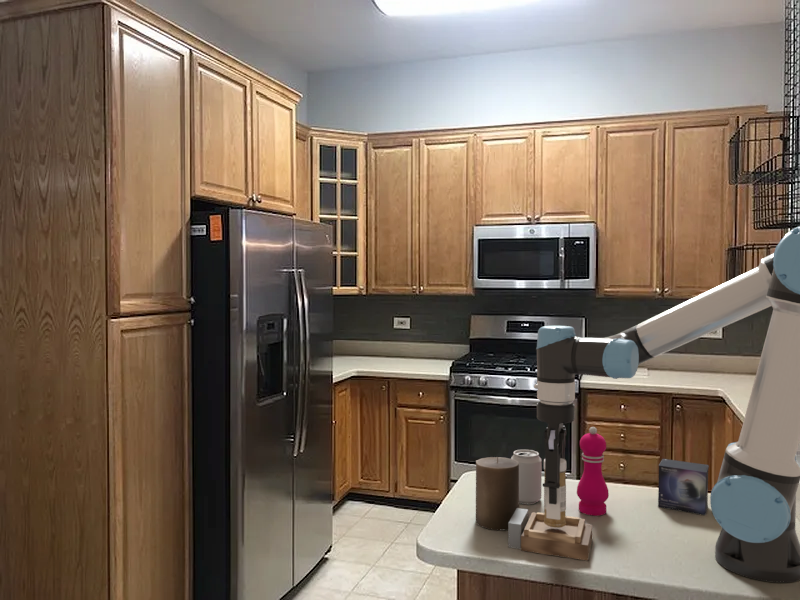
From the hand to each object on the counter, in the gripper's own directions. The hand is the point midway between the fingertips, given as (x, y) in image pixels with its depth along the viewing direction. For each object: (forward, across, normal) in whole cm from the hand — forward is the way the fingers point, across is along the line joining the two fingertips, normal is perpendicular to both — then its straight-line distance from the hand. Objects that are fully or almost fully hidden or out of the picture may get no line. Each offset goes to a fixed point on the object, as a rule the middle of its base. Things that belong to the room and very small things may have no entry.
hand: (555, 513), depth 131 cm
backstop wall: (+6, 0, -8) cm, 10 cm away
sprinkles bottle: (+2, 0, 0) cm, 2 cm away
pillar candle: (+7, -8, -14) cm, 17 cm away
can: (+7, -24, -10) cm, 27 cm away
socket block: (+6, 0, 0) cm, 6 cm away
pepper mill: (+7, -22, +6) cm, 24 cm away
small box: (+7, -32, +26) cm, 42 cm away
